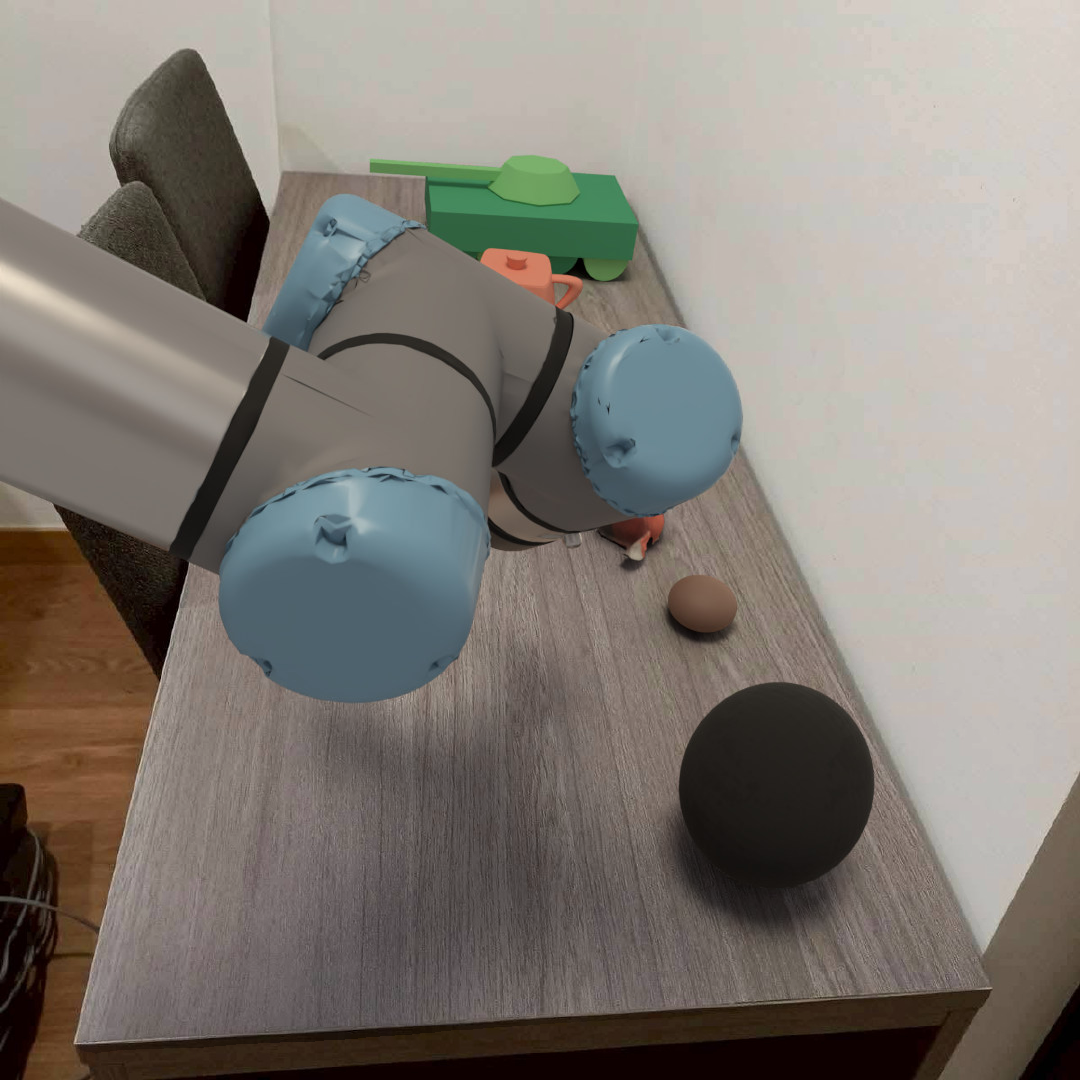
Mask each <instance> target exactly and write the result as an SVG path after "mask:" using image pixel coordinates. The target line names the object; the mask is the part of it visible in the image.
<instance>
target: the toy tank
mask: <svg viewBox="0 0 1080 1080" xmlns="http://www.w3.org/2000/svg"><path fill="white" fill-rule="evenodd" d="M369 173H371V174H384V175H400V176H401V175H402V176H414V177H415V176H416V177H425V179H424V206H425V216H426V227H427V231H428V232H430V233H431V234H433V235H435V236H437V237H438V238H440V239H442V240H443V241H445V242H447V243H448V244H450V245H452V246H454V247H455V248H457V249H459V250H460V251H462V252H464V253H465V254H467V255H469V256H471V257H472V258H474V259H476V260H477V261H479V262H480V261H481V258H482V256H483V253H484V252H485V251H486V250H487V249H489V248H494V249H506V250H517V251H524V252H532V253H539V254H544V255H546V256H547V257H548V258H549V260H550V264H551V270H552V274H560V275H565V274H566V273H568V272H569V271H570V270H571V269H572V268H573V267H574V266H575V265H576V264H577V261H578V260H579V259H582V263H583V265H584V267H585V270H586V272H587V273H588V275H589V276H590V277H592V278H593V279H594V280H596V281H600V282H607V281H612V280H614V279H616V278H618V277H619V276H621V274H623V272H624V271H625V269H627V266H628V263H629V261H633V259H634V252H635V246H636V240H637V236H638V230H639V225H640V224H639V222H638V220H637V218H636V216H635V214H634V212H633V210H632V207H631V206H630V204H629V201H628V200H627V198H626V195H625V193H624V191H623V189H622V187H621V185H620V183H619V181H618V179H617V176H616V175H614V174H613V175H612V174H601V173H600V174H599V173H588V172H587V173H586V172H585V173H583V172H572V171H571V170H570V167H569V166H568V165H567V164H565V163H563V162H562V161H560V160H559V159H557V158H552V157H547V156H541V155H538V154H537V155H536V154H528V155H527V154H525V155H524V154H523V155H512V156H510V157H508V159H506V160H505V161H504V162H503V164H502V165H501V167H500V166H487V165H486V166H484V165H483V166H482V165H471V164H456V163H454V164H453V163H442V162H441V163H440V162H429V161H428V162H427V161H426V162H424V161H410V160H397V159H396V160H394V159H383V158H369Z"/></svg>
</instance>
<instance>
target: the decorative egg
mask: <svg viewBox="0 0 1080 1080" xmlns="http://www.w3.org/2000/svg"><path fill="white" fill-rule="evenodd" d="M874 796H875V769H874V764H873V758H872V754H871V751H870V748H869V746H868V743H867V741H866V738H865V736H864V734H863V732H862V731H861V729H860V727H859V725H858V724H857V723H856V722H855V720H854V718H853V717H852V716H851V715H850V714H849V712H848V711H846V709H845V708H844V707H842V705H840V704H839V703H838V702H837V701H835V700H834V699H833V698H831V697H829V696H828V695H826V694H825V693H823V692H821V691H819V690H817V689H815V688H812V687H809V686H807V685H804V684H801V683H800V684H799V683H794V682H786V681H770V682H764V683H757V684H753V685H750V686H747V687H745V688H743V689H740V690H738V691H736V692H734V693H732V694H730V695H728V696H726V697H725V698H724V699H722V700H721V701H720V702H719V703H717V704H716V705H715V706H714V707H712V708H711V710H709V712H708V713H707V714H706V715H705V716H704V717H703V718H702V719H701V721H700V722H699V724H698V725H697V727H696V728H695V730H694V731H693V733H692V734H691V736H690V738H689V741H688V743H687V745H686V747H685V750H684V753H683V756H682V759H681V763H680V769H679V777H678V797H679V798H678V799H679V806H680V807H679V808H680V811H681V815H682V818H683V821H684V822H683V823H684V824H685V828H686V829H687V832H688V834H689V837H690V838H691V840H692V842H693V844H694V845H695V846H696V848H697V849H698V851H699V852H700V854H701V855H702V856H703V857H704V858H705V859H706V860H707V861H708V862H709V863H710V864H711V865H712V867H714V868H716V870H718V871H720V873H722V874H724V875H725V876H726V877H728V878H730V879H732V880H734V881H736V882H739V883H742V884H744V885H747V886H751V887H754V888H760V889H767V890H783V889H790V888H795V887H798V886H799V887H800V886H803V885H805V884H808V883H811V882H813V881H816V880H817V879H819V878H821V877H823V876H825V875H826V874H827V873H830V872H831V871H832V870H833V869H835V868H836V867H837V866H838V865H840V864H841V862H843V860H844V859H845V858H846V857H847V856H848V855H849V854H850V853H851V852H852V851H853V849H854V847H856V845H857V844H858V842H859V841H860V839H861V837H862V835H863V833H864V830H865V829H866V826H867V825H868V821H869V819H870V816H871V812H872V811H871V810H872V808H873V804H874V803H873V802H874Z"/></svg>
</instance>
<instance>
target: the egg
mask: <svg viewBox="0 0 1080 1080" xmlns="http://www.w3.org/2000/svg"><path fill="white" fill-rule="evenodd" d="M667 604H668V609H669V611H670V613H671V615H672V617H673V618H674V619H675V620H676V621H677V622H678V623H679V624H680V625H682V626H683V627H685V628H687V629H689V630H692V631H695V632H698V633H714V632H715V633H716V632H719V631H721V630H724V629H725V628H727V627H728V626H729V625H730V624H731V623H733V621H734V619H735V618H736V615H737V613H738V602H737V598H736V596H735V594H734V592H733V590H732V589H731V588H730V587H729V585H727V584H726V583H724V581H722V580H720V579H719V578H716V577H713V576H712V575H711V576H710V575H706V574H690V575H688V576H684V577H682V578H680V579H679V580H677V581H676V582H675V583H674V584H673V585H672V587H671V588H670V589H669V592H668V596H667Z"/></svg>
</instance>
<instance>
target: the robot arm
mask: <svg viewBox="0 0 1080 1080" xmlns="http://www.w3.org/2000/svg"><path fill="white" fill-rule="evenodd" d="M283 281H284V282H283V283H282V286H281V288H280V290H279V292H278V294H277V296H276V297H275V300H274V301H273V304H272V306H271V308H270V310H269V313H268V315H267V316H266V319H265V321H264V323H263V325H262V328H261V329H259V328H258V327H255V326H254V325H251V324H250V323H248V322H245V321H244V320H242V319H240V318H238V317H236V316H234V315H232V314H230V313H228V312H226V311H225V310H222V309H220V308H218V307H217V306H215V305H213V304H210V303H209V302H206V301H205V300H202V299H200V298H198V297H197V296H194V295H193V294H190V293H189V292H187V291H185V290H183V289H182V288H179V287H177V286H176V285H173V284H171V283H169V282H168V281H165V280H164V279H161V278H160V277H158V276H156V275H154V274H151V273H150V272H148V271H146V270H144V269H142V268H140V267H138V266H136V265H134V264H132V263H130V262H128V261H126V260H124V259H122V258H120V257H119V256H116V255H114V254H112V253H111V252H109V251H106V250H105V249H103V248H101V247H99V246H96V245H94V244H93V243H91V242H89V241H86V240H85V239H83V238H81V237H79V236H77V235H75V234H73V233H71V232H70V231H67V230H66V229H63V228H61V227H60V226H57V225H56V224H54V223H51V222H49V221H48V220H46V219H43V218H42V217H40V216H38V215H36V214H34V213H33V212H30V211H28V210H26V209H24V208H22V207H20V206H19V205H17V204H15V203H12V202H10V201H8V200H7V199H5V198H3V197H1V196H0V482H2V483H3V484H6V485H8V486H11V487H13V488H16V489H18V490H21V491H23V492H25V493H28V494H30V495H32V496H35V497H37V498H40V499H42V500H44V501H46V502H49V503H52V504H54V505H56V506H58V507H61V508H64V509H66V510H68V511H71V512H73V513H75V514H77V515H80V516H81V517H85V518H87V519H89V520H92V521H94V522H96V523H99V524H101V525H104V526H106V527H109V528H111V529H113V530H115V531H118V532H119V533H120V532H121V533H123V534H125V535H127V536H130V537H132V538H134V539H137V540H139V541H142V542H144V543H147V544H148V545H151V546H154V547H156V548H158V549H161V550H162V551H166V552H167V554H169V555H172V556H174V557H177V558H179V559H182V560H184V561H186V562H187V563H189V564H192V565H194V566H196V567H199V568H201V569H204V570H206V571H208V572H210V573H212V574H215V575H217V576H219V584H218V596H217V597H218V599H217V600H218V601H217V602H218V611H219V616H220V619H221V622H222V626H223V628H224V630H225V632H226V634H227V638H228V640H229V641H230V642H231V643H232V644H233V646H234V647H235V649H236V650H237V651H238V652H239V654H240V655H243V656H245V657H248V658H250V660H252V661H253V662H254V663H255V664H256V665H258V666H259V667H260V668H261V670H262V672H263V675H264V677H265V678H267V679H268V680H270V681H271V682H273V683H275V684H277V685H278V686H280V687H282V688H283V689H286V690H288V691H290V692H293V693H296V694H299V695H302V696H305V697H308V698H312V699H315V700H319V701H326V702H332V703H333V702H334V703H343V704H368V703H376V702H382V701H386V700H390V699H396V698H399V697H402V696H404V695H407V694H410V693H412V692H414V691H416V690H419V689H420V688H423V687H424V686H426V685H427V684H429V683H430V682H432V681H434V680H435V679H437V677H439V676H440V675H441V674H442V673H444V672H445V671H446V670H447V668H448V667H449V666H450V665H451V664H453V662H455V661H456V660H459V656H460V654H461V652H462V650H463V648H464V646H465V645H466V643H467V640H468V638H469V637H470V636H469V635H470V634H471V630H472V626H473V622H474V620H475V613H476V609H477V604H478V599H479V594H480V589H481V584H482V579H483V574H484V572H485V564H486V562H487V560H488V558H489V557H490V556H491V555H490V554H491V548H492V549H495V550H498V551H502V552H523V551H527V550H532V549H534V548H537V547H542V546H544V545H548V544H552V543H555V542H557V541H559V540H562V544H563V545H564V546H565V548H566V549H571V550H573V549H577V548H579V547H580V546H582V543H583V537H582V534H581V533H586V532H590V531H595V530H596V529H597V530H598V528H599V527H602V526H604V525H608V524H612V523H617V522H621V521H625V520H629V519H634V518H643V517H654V516H658V515H661V514H663V515H664V514H666V513H667V512H668V511H670V510H673V509H674V508H675V507H677V506H679V505H682V504H684V503H686V502H689V501H690V500H693V499H695V498H696V497H699V496H700V495H702V494H704V493H706V492H707V491H709V490H710V489H712V488H713V487H714V486H715V485H716V484H717V483H719V481H721V479H722V478H723V477H724V476H725V474H726V473H727V472H728V470H729V469H730V467H731V465H732V464H733V462H734V460H735V457H736V455H737V454H738V452H739V450H740V444H741V439H742V434H743V427H744V425H743V424H744V413H743V404H742V398H741V394H740V390H739V387H738V384H737V381H736V379H735V377H734V375H733V372H732V371H731V369H730V367H729V366H728V364H727V362H726V361H725V360H724V359H723V357H722V355H721V354H720V353H719V352H718V351H717V350H716V349H715V348H714V347H713V346H712V345H711V344H710V343H709V342H708V341H706V340H705V339H704V338H702V337H701V336H700V335H698V334H696V333H694V332H693V331H691V330H689V329H687V328H683V327H681V326H677V325H676V326H675V325H674V326H673V325H670V324H661V323H650V324H649V323H648V324H640V325H638V326H634V327H631V328H629V329H627V328H622V329H618V330H616V332H615V333H611V334H610V333H608V332H606V331H605V330H603V329H601V328H599V327H598V326H595V325H594V324H592V323H590V322H589V321H587V320H585V319H584V318H581V317H580V316H578V315H577V314H575V313H573V312H571V311H565V310H564V309H563V310H562V309H560V308H558V307H557V306H555V305H556V304H555V305H552V304H551V303H549V302H547V301H545V300H544V299H542V298H540V297H539V296H537V295H535V294H534V293H532V292H530V291H528V290H527V289H525V288H523V287H522V286H520V285H518V284H517V283H515V282H513V281H511V280H510V279H508V278H506V277H505V276H503V275H501V274H499V273H498V272H496V271H494V270H493V269H491V268H489V267H488V266H486V265H484V264H482V263H481V262H479V261H478V259H477V258H476V259H474V258H472V257H471V256H469V255H467V254H465V253H464V252H462V251H460V250H459V249H457V248H455V247H454V246H452V245H450V244H448V243H447V242H445V241H443V240H442V239H440V238H438V237H437V236H435V235H433V234H431V233H430V232H428V228H427V226H425V224H423V223H421V222H418V221H417V220H412V219H411V220H408V219H406V218H404V217H402V216H400V215H398V214H396V213H394V212H392V211H389V210H387V209H386V208H383V207H381V206H380V205H377V204H375V203H374V202H372V201H369V200H367V199H365V198H363V197H362V196H359V195H357V194H356V195H355V194H352V193H339V194H335V195H333V196H330V197H329V198H327V199H326V200H325V201H324V202H323V203H322V205H321V206H320V208H319V210H318V212H317V214H316V216H315V218H314V219H313V221H312V224H311V226H310V228H309V231H308V232H307V234H306V236H305V238H304V240H303V243H302V245H301V246H300V248H299V250H298V253H297V254H296V256H295V259H294V261H293V263H292V265H291V267H290V269H289V270H288V273H287V275H286V277H285V280H283Z"/></svg>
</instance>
